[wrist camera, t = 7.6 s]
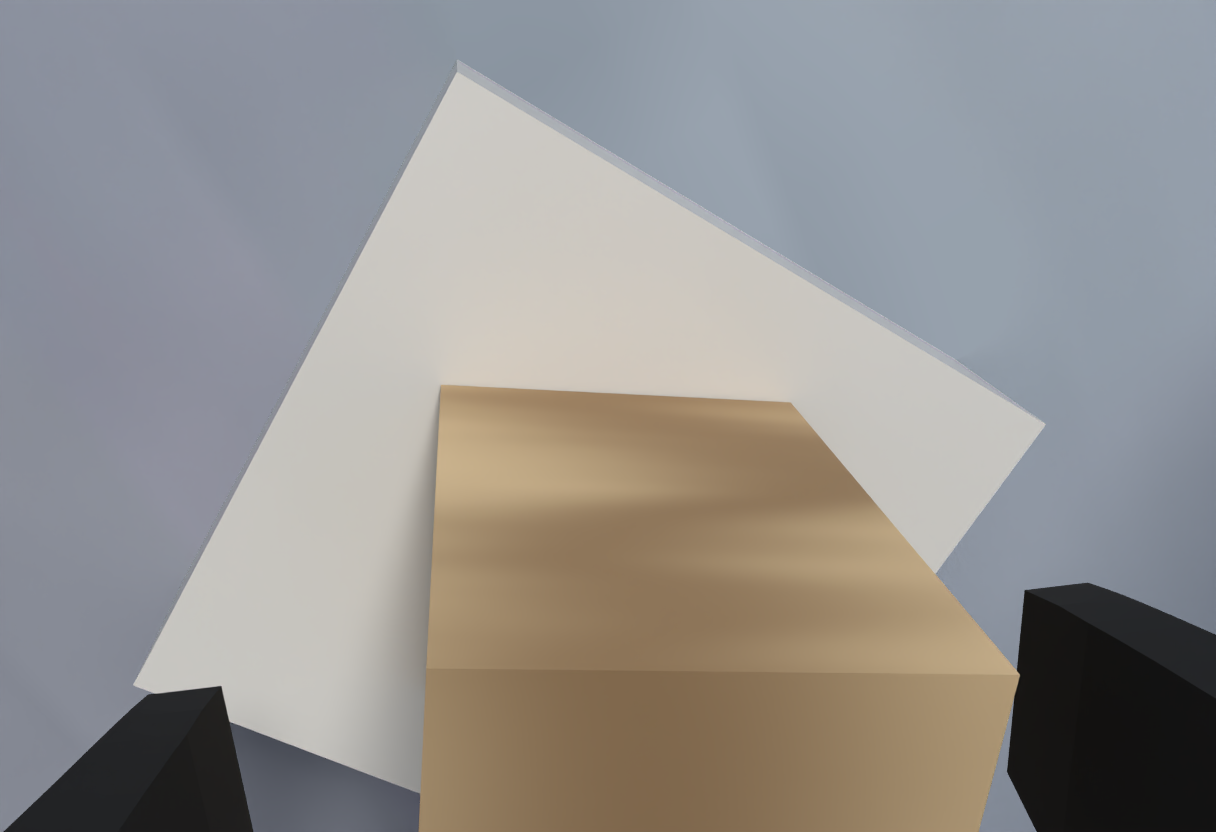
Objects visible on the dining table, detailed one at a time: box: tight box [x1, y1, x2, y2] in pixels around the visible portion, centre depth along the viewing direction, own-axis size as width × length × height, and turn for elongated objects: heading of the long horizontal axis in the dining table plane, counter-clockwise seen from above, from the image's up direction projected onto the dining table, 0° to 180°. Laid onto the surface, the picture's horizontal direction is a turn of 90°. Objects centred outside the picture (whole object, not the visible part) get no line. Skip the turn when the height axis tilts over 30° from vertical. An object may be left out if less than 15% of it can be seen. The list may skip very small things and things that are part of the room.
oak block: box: [419, 385, 1020, 832], centre depth 10 cm, size 4×4×6 cm
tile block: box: [134, 60, 1046, 794], centre depth 14 cm, size 8×8×3 cm
